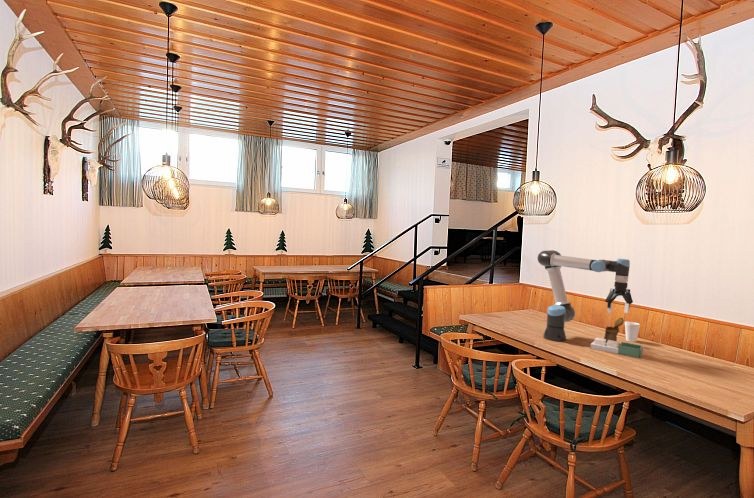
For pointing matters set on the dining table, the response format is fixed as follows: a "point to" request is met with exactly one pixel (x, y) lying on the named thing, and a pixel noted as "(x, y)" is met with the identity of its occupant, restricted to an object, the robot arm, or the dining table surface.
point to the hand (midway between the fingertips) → (617, 312)
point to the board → (604, 348)
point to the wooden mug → (613, 330)
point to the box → (630, 350)
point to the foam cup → (631, 331)
